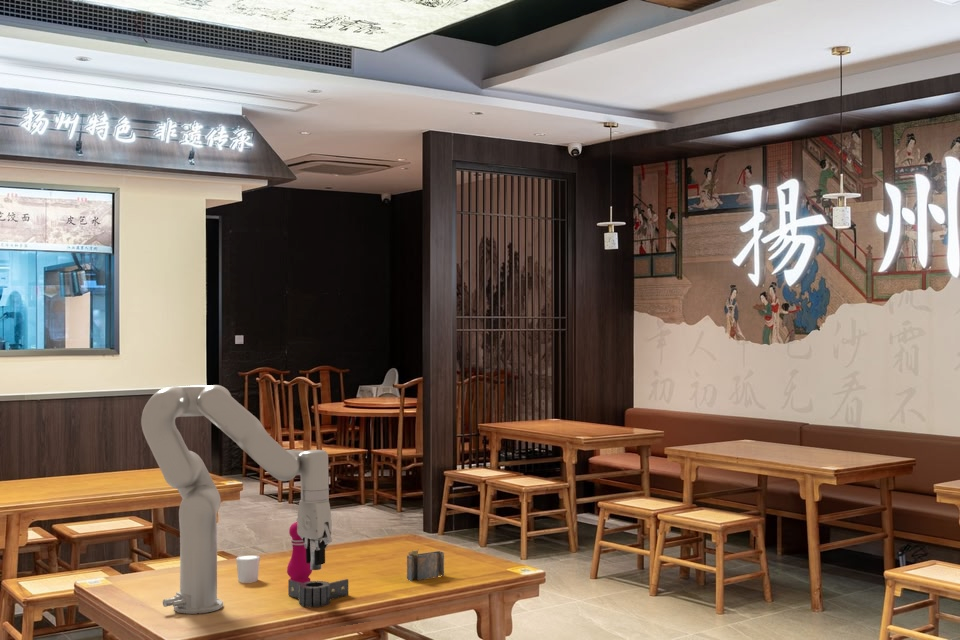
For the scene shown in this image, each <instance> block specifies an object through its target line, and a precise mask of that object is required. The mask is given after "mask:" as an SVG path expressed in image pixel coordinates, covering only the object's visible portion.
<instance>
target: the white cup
mask: <svg viewBox="0 0 960 640" xmlns="http://www.w3.org/2000/svg"><path fill="white" fill-rule="evenodd" d="M260 558H261V556H260V555H255V554H245V555H241V556H240V555H239V556H237V557H236V558H235V560H236V571H237V581H238V583H241V584H250V583H255V582H257V581H258V580H259V570H260V560H261V559H260Z"/></svg>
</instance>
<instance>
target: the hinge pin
mask: <svg viewBox="0 0 960 640" xmlns="http://www.w3.org/2000/svg"><path fill="white" fill-rule="evenodd" d="M321 541H322V540H321ZM321 541H320V543H321ZM314 550H316V543H315V540H314V539H310V569H311V570H312V571H320V570H322V564H321V565H315V560H314Z"/></svg>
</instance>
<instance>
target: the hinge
mask: <svg viewBox="0 0 960 640" xmlns="http://www.w3.org/2000/svg"><path fill="white" fill-rule="evenodd" d="M287 587H288V588H287V589H288V595H289V596H288V597H290V596H292V597H291V598H294V597H295V599H297V598H299V599H298V605H299V604H300V605H301V607H305V608H320V607H324V606H327V605H330V604H331V601H332V600H335V599H339V598H343V597H346V596H345V595H347V596H349V579H348V578H345V579H341V580H338V581H337V580H335V581H333V582H329V581H324V580H310V581H309V582H304V583H301V582H297V581H293V580H289V579H288V586H287ZM342 596H343V597H342ZM338 597H339V598H338ZM300 605H299V606H300Z"/></svg>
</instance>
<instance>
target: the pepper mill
mask: <svg viewBox="0 0 960 640" xmlns="http://www.w3.org/2000/svg"><path fill="white" fill-rule="evenodd" d="M288 530H289V532H288V533H289V536H290V537H291V539H290V545H292V546H291V547H292V550H291V551H292V554H291V556H290V559H289V561H288V564H287V567H286V570H287V571H286V573H287V575H288V577H289V579H288V580H293V581H297V582H301V583H304V582H309V581H311V578H310V576H311V575H312V573H313V570H311V569H310V563H306V548H305V546H304V545H305V543H304V541H303V539H302V538H301V537H300V536H299V535H298V533H297V521H296V522H294V523H292V524H291V525H290V527H289V529H288Z"/></svg>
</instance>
